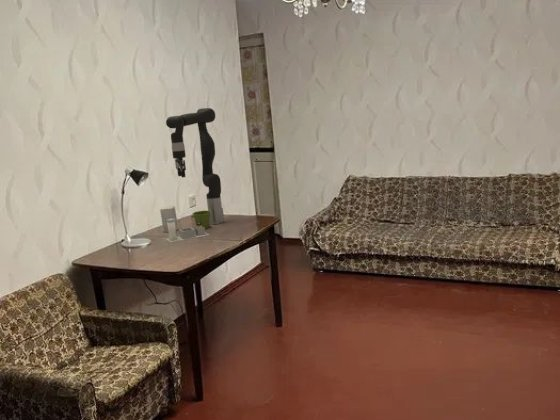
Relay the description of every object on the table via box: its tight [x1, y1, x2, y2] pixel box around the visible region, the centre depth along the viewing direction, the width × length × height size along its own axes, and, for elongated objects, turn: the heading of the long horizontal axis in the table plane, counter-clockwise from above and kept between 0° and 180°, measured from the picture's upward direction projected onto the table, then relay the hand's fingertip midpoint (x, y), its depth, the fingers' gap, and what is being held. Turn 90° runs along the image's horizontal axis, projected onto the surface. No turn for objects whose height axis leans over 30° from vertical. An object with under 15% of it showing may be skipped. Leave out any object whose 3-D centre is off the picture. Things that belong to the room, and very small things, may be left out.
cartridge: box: [167, 218, 178, 240], centre depth 309 cm, size 5×5×12 cm
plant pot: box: [192, 210, 211, 229], centre depth 334 cm, size 12×12×11 cm
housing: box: [165, 227, 210, 243], centre depth 314 cm, size 24×10×6 cm, turn 115°
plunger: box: [195, 222, 203, 229], centre depth 316 cm, size 4×4×7 cm
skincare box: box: [159, 206, 179, 234], centre depth 338 cm, size 8×7×16 cm
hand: (181, 176), depth 319 cm, fingers open, 8 cm apart
